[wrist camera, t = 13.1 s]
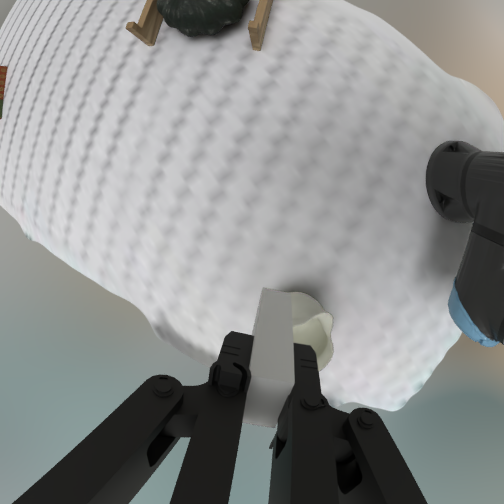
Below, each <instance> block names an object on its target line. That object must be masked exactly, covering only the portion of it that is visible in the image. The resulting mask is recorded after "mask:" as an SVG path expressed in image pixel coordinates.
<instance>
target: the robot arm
mask: <svg viewBox="0 0 504 504" xmlns="http://www.w3.org/2000/svg"><path fill="white" fill-rule="evenodd" d="M426 184H427V191H428V195H429V198H430V201H431V203H432V205H433V206H434V208H435V209H436V211H437V212H438V213H439V214H440V215H441V216H443V217H444V218H446V219H448V220H451V221H453V222H457V223H466V222H473V221H474V222H473V226H472V230H471V233H470V237H469V240H468V243H467V247H466V250H465V253H464V256H463V259H462V262H461V265H460V268H459V271H458V273H457V276H456V277H455V279H454V282H453V288H452V291H451V294H450V297H449V300H448V307H449V313H450V315H451V317H452V319H453V321H454V322H455V324H456V325H457V326H458V327H459V329H460V330H461V331H462V332H463V333H464V334H465V335H467V336H468V337H469V338H470V339H472V340H473V341H475V342H477V341H478V342H479V343H480V344H481V345H483V346H486V347H493V346H496V345H497V344H498V343H499V342H501V343H502V344H503V345H504V152H487V151H481V150H479V149H477V148H476V147H474V146H472V145H470V144H468V143H466V142H463V141H448V142H445V143H443V144H441V145H440V146H439V147H438V148H437V149H436V150H435V151H434V152H433V154H432V156H431V158H430V160H429V163H428V167H427V173H426ZM277 422H278V428H277V432H276V434H275V436H274V438H273V440H272V442H271V444H270V447H269V449H272V447H273V455H272V469H271V480H270V492H269V503H268V504H427V502H426V500H425V498H424V496H423V494H422V492H421V490H420V488H419V487H418V485H417V483H416V481H415V479H414V477H413V475H412V473H411V471H410V470H409V468H408V466H407V464H406V462H405V460H404V459H403V457H402V455H401V453H400V451H399V449H398V448H397V446H396V444H395V442H394V441H393V439H392V437H391V435H390V433H389V432H388V430H387V428H386V426H385V425H384V423H383V421H382V419H381V418H380V416H379V415H378V414H377V413H376V412H374V411H373V410H371V409H368V408H357V409H354V410H353V411H352V412H351V413H350V414H349V413H346V412H343V411H340V410H337V409H335V408H333V407H331V406H330V405H329V403H328V401H327V399H326V398H325V397H324V396H323V395H322V394H321V386H320V379H319V371H318V363H317V356H316V352H315V351H314V350H313V348H312V347H311V345H305V344H299V343H293V323H292V303H291V293H287V292H282V291H277V290H272V289H267V288H263V289H262V293H261V298H260V302H259V306H258V311H257V315H256V319H255V323H254V328H253V333H252V335H248V334H243V333H238V332H234V331H231V332H230V333H229V334H228V335H226V336H225V338H224V341H223V345H222V348H221V351H220V354H219V357H218V360H217V361H216V362H215V363H213V364H212V366H211V367H210V373H209V380H208V382H206V383H204V384H202V385H198V386H182V384H181V383H180V382H179V381H178V380H177V379H175V378H174V377H171V376H168V375H156V376H152V377H151V378H149V379H147V380H146V381H145V382H144V383H143V384H142V385H141V386H140V387H139V388H138V389H137V390H136V391H135V392H134V393H132V394H131V395H130V396H129V397H128V398H127V399H126V400H125V401H124V402H123V403H122V404H121V405H120V406H119V407H118V408H117V409H116V410H115V411H113V412H112V413H111V414H110V415H109V416H108V417H107V418H106V419H105V420H104V421H103V422H102V423H101V424H100V425H99V426H98V427H96V428H95V429H94V430H93V431H92V432H91V433H90V434H89V435H88V436H87V437H86V438H85V439H84V440H82V441H81V442H80V443H79V444H78V445H77V446H76V447H75V448H74V449H73V450H72V451H71V452H70V453H68V454H67V455H66V456H65V457H64V458H63V459H62V460H61V461H60V462H58V463H57V464H56V465H55V466H54V467H53V468H52V469H51V470H50V471H48V472H47V473H46V474H45V475H44V476H43V477H42V478H41V479H40V480H38V481H37V482H36V483H35V484H34V485H33V486H32V487H30V488H29V489H28V490H27V491H26V492H25V493H24V494H23V495H21V496H20V497H19V498H18V499H17V500H16V501H14V502H13V503H12V504H129V502H130V501H131V500H132V499H133V498H134V496H135V495H136V494H137V493H138V492H139V490H140V489H141V488H142V487H143V485H144V484H145V483H146V482H147V480H148V479H149V478H150V477H151V475H152V474H153V473H154V472H155V470H156V469H157V468H158V467H159V465H160V464H161V462H162V461H163V460H164V459H165V458H166V456H167V455H168V454H169V452H170V451H171V450H172V448H173V447H174V446H175V444H176V443H177V442H178V440H179V439H180V437H191V439H190V442H189V445H188V448H187V451H186V454H185V457H184V460H183V463H182V467H181V470H180V473H179V476H178V479H177V482H176V485H175V488H174V492H173V495H172V498H171V501H170V504H228V501H229V496H230V490H231V485H232V479H233V474H234V468H235V462H236V457H237V451H238V445H239V439H240V433H241V427H242V423H247V424H252V425H259V426H265V427H272V428H275V426H276V424H277Z"/></svg>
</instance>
